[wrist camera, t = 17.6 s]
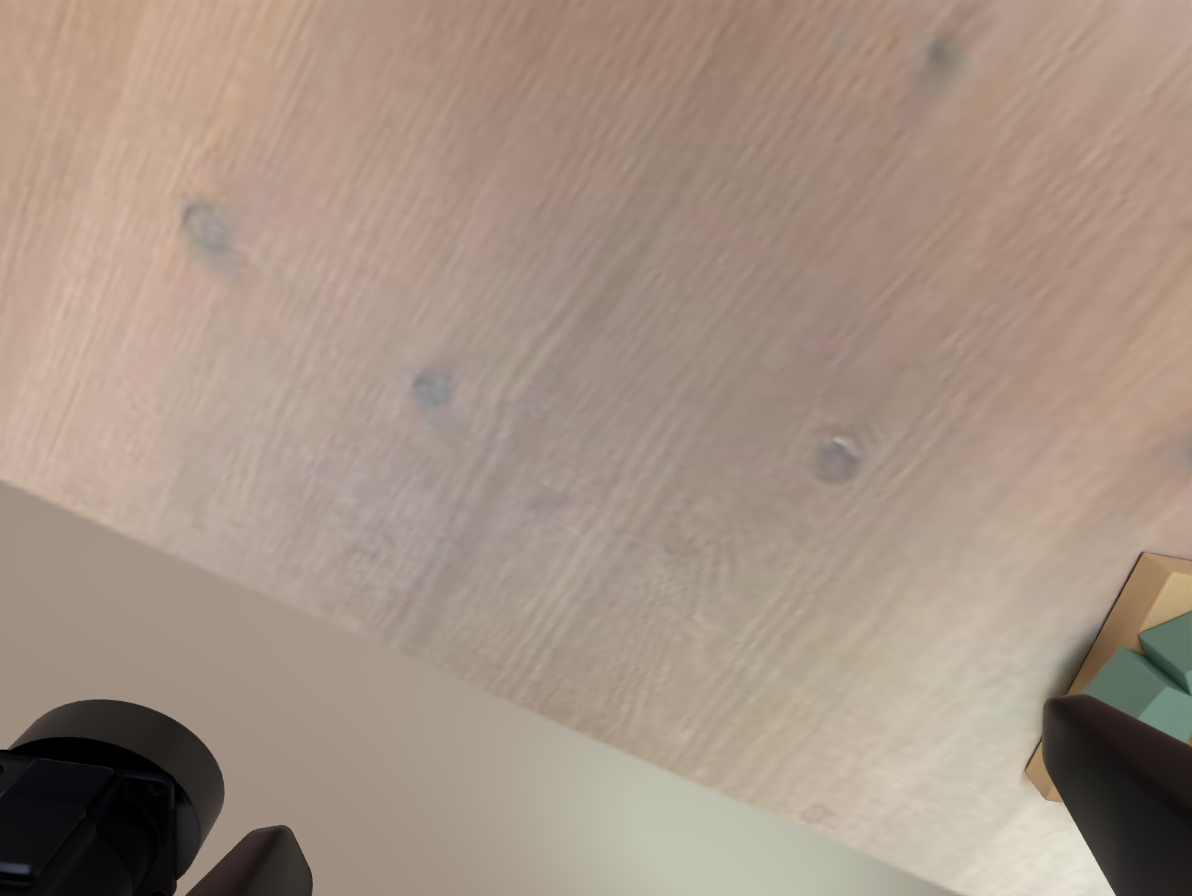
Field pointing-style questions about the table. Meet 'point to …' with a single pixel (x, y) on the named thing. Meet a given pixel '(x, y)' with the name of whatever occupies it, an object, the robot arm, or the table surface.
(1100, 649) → the post
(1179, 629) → the ring
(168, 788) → the robot arm
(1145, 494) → the table surface
